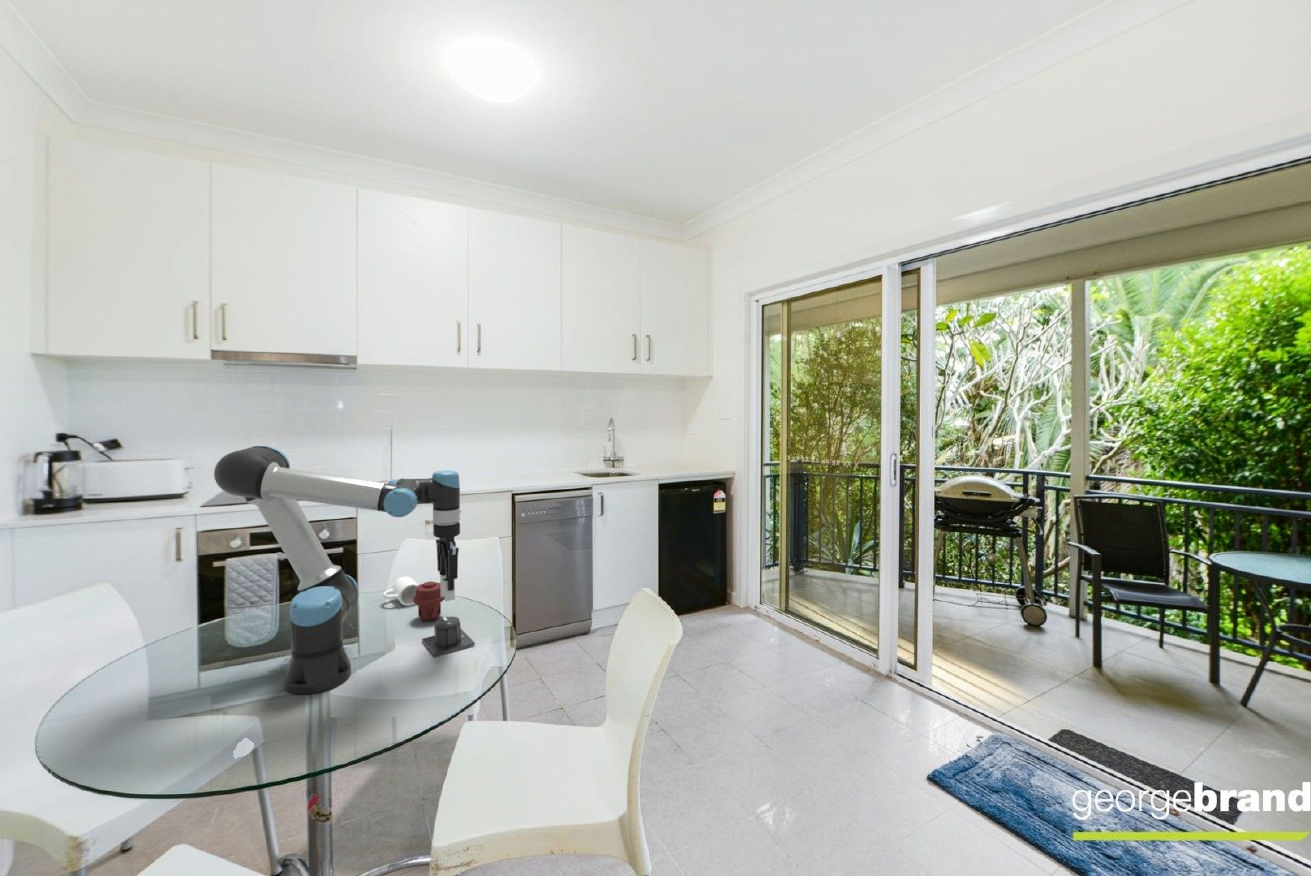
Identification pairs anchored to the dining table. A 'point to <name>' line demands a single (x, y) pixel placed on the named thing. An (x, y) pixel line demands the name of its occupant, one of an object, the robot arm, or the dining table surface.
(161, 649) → the dining table surface
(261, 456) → the robot arm
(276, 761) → the dining table surface
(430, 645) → the metal plate
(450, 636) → the knob
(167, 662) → the dining table surface
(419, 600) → the mechanical component
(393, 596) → the mug
